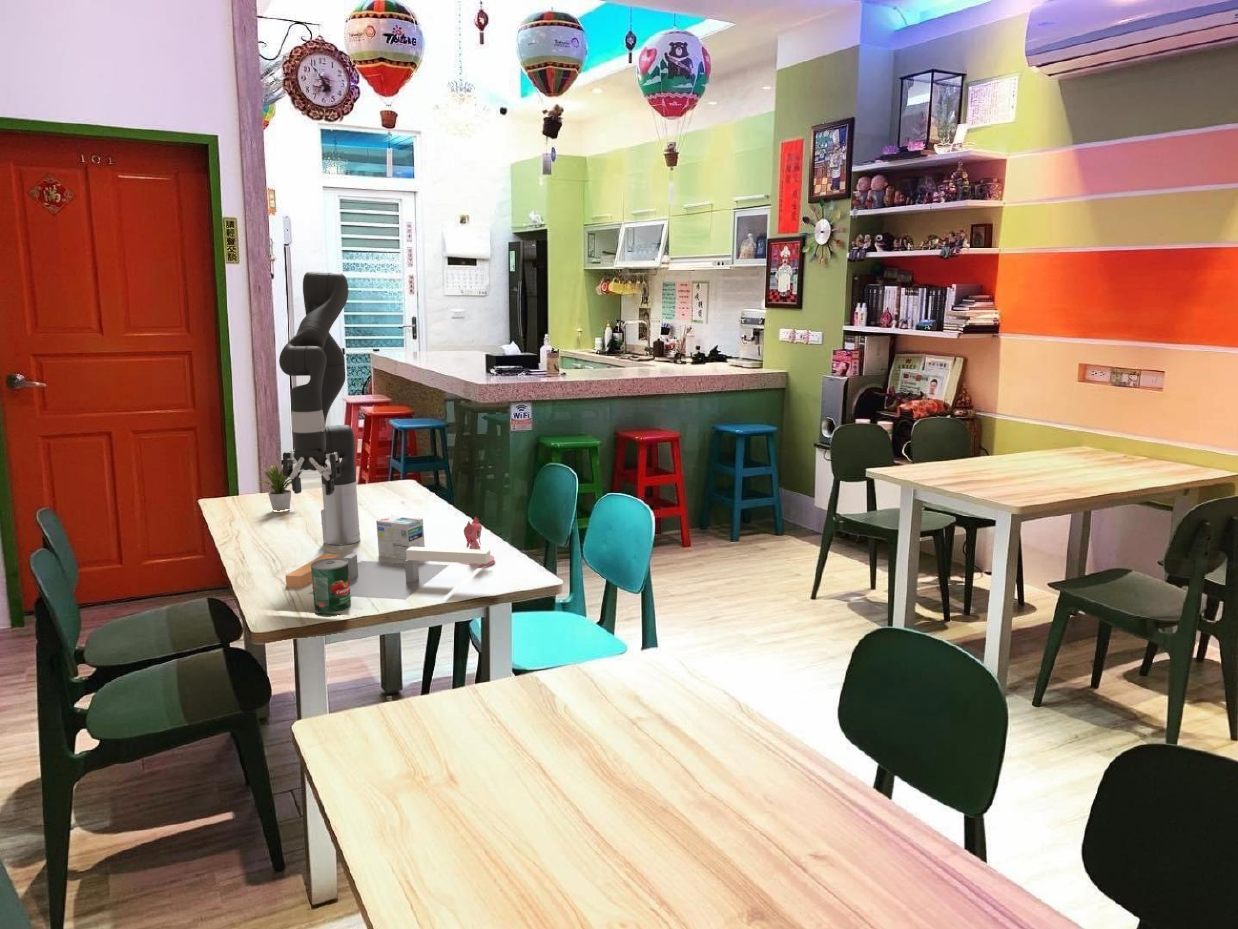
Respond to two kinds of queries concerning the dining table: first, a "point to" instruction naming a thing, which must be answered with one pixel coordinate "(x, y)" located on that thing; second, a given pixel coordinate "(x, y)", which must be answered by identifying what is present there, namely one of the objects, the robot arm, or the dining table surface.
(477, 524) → the toy figure
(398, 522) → the light bulb box
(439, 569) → the cable board
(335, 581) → the canned tomato
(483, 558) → the cream bar
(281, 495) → the house plant
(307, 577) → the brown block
